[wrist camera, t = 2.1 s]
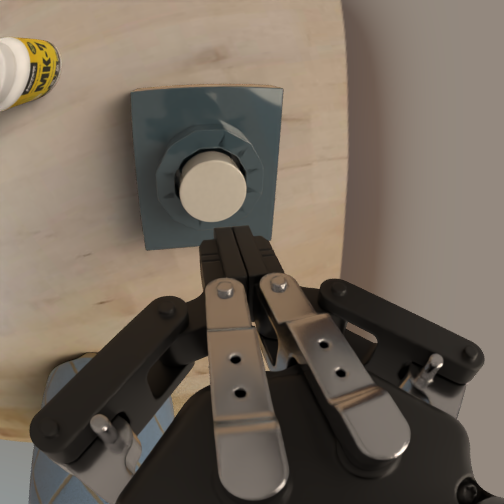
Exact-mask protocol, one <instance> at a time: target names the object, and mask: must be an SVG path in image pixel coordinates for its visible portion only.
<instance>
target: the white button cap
mask: <svg viewBox="0 0 504 504" xmlns="http://www.w3.org/2000/svg"><path fill="white" fill-rule="evenodd" d="M246 191H247V188H246V182H245V179H244V177H243V175H242V173H241V171H240V169H239V167H238V166H237V164H236V163H235V161H234V160H233V159H232V158H230V157H229V156H227V155H226V154H223V153H220V152H215V151H208V152H203V153H200V154H197V155H195V156H194V157H192V158H191V159H190V160H188V161H187V163H186V164H185V165H184V167H183V168H182V170H181V173H180V177H179V195H180V200H181V203H182V206H183V207H184V209H185V210H186V211H187V213H189V214H190V215H191V216H192V217H194V218H196V219H198V220H201V221H205V222H218V221H222V220H225V219H227V218H229V217H231V216H232V215H233V214H235V213H236V212H237V211H238V210H239V209H240V207H241V206H242V204H243V202H244V200H245V197H246Z"/></svg>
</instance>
